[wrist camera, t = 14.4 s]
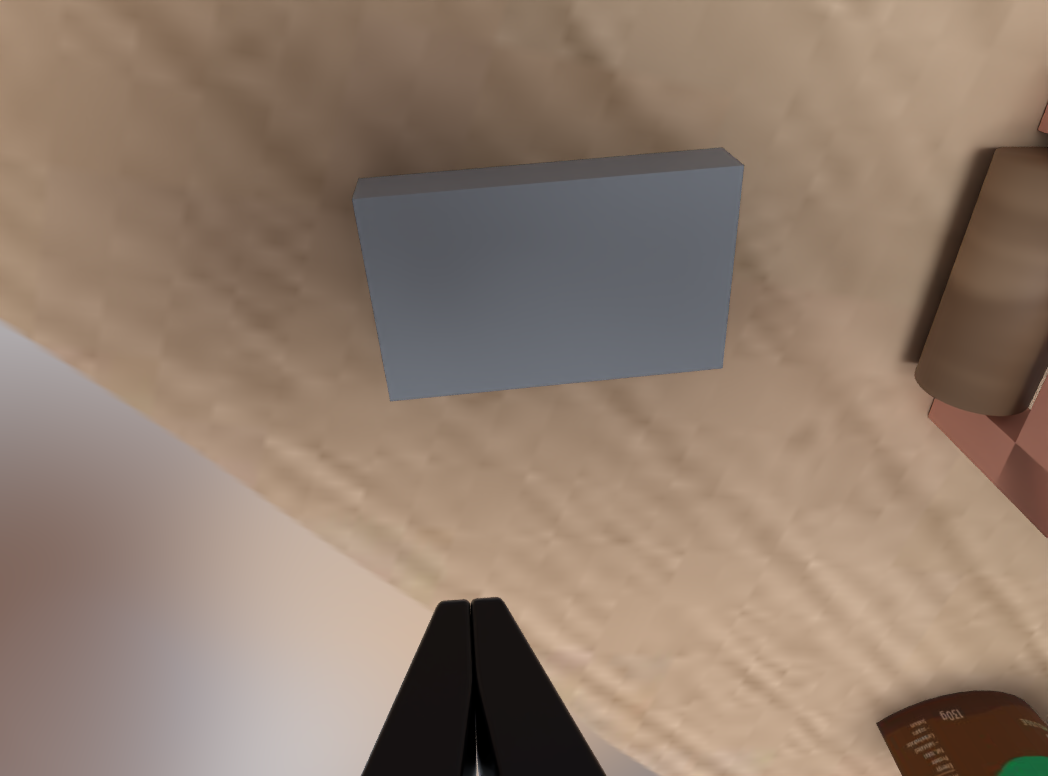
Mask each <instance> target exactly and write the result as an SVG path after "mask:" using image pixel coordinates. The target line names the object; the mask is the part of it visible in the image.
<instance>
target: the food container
mask: <svg viewBox="0 0 1048 776" xmlns="http://www.w3.org/2000/svg"><path fill="white" fill-rule="evenodd" d="M876 724H877V726H878V728H879V730H880V732H881V734H882V736H883V738H884V740H885V742H886V744H887V746H888V748H889V750H890V752H891V754H892V756H893V758H894V760H895V762H896V764H897V766H898V768H899V770H900V772H901V774H902V776H1048V727H1047V726H1046V724H1045V723H1044V722H1043V721H1042V720H1041V718H1040V717H1039V716H1038V715H1037V714H1036V713H1035V711H1034V710H1033V709H1032V708H1031V707H1030V706H1029V705H1028V704H1027V703H1026V702H1025V701H1024V700H1022V699H1020V698H1018V697H1016V696H1014V695H1011V694H1007V693H1004V692H996V691H969V692H959V693H954V694H949V695H944V696H940V697H936V698H933V699H929V700H926V701H923V702H920V703H918V704H915V705H912V706H909V707H907V708H905V709H903V710H901V711H898V712H896V713H894V714H892V715H890V716H888V717H887V718H885V719H883V720H881V721H880V722H878V723H876Z"/></svg>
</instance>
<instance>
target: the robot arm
mask: <svg viewBox="0 0 1048 776" xmlns="http://www.w3.org/2000/svg"><path fill="white" fill-rule="evenodd" d="M476 746H477V761H478V772H479V776H606V774H605V772H604V771H603V769H602V767H601V765H600V764H599V762H598V760H597V759H596V757H595V756H594V754H593V752H592V750H591V749H590V747H589V745H588V744H587V742H586V740H585V738H584V737H583V735H582V733H581V732H580V730H579V728H578V727H577V725H576V723H575V721H574V720H573V718H572V716H571V715H570V713H569V711H568V710H567V708H566V706H565V704H564V703H563V701H562V699H561V698H560V696H559V694H558V693H557V691H556V689H555V687H554V686H553V684H552V682H551V681H550V679H549V677H548V676H547V674H546V672H545V671H544V669H543V667H542V665H541V664H540V662H539V660H538V659H537V657H536V655H535V654H534V652H533V650H532V648H531V647H530V645H529V643H528V642H527V640H526V638H525V637H524V635H523V633H522V632H521V630H520V628H519V626H518V625H517V623H516V621H515V620H514V618H513V616H512V615H511V613H510V611H509V609H508V608H507V606H506V604H505V603H504V601H503V600H502V599H501V598H499V597H491V598H477V599H474V600H472V602H471V609H470V603H469V601H468V600H465V599H462V600H447V601H441V602H440V603H439V604H438V605H437V607H436V609H435V611H434V613H433V616H432V618H431V620H430V622H429V625H428V627H427V629H426V631H425V634H424V636H423V638H422V640H421V643H420V645H419V647H418V649H417V652H416V654H415V656H414V658H413V660H412V663H411V665H410V667H409V669H408V672H407V674H406V676H405V678H404V681H403V683H402V685H401V688H400V690H399V692H398V694H397V696H396V699H395V701H394V703H393V705H392V708H391V710H390V712H389V714H388V716H387V719H386V721H385V723H384V725H383V728H382V730H381V732H380V734H379V737H378V739H377V741H376V743H375V745H374V748H373V750H372V752H371V754H370V757H369V759H368V761H367V763H366V766H365V768H364V770H363V773H362V775H361V776H476V769H477V768H476V767H477V765H476Z"/></svg>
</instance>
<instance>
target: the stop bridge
mask: <svg viewBox="0 0 1048 776" xmlns="http://www.w3.org/2000/svg"><path fill="white" fill-rule="evenodd" d="M1038 130H1039V131H1042V132H1044V133H1047V134H1048V105H1047V107H1046V110H1045V113H1044V115H1043V118H1042V120H1041V123H1040V126H1039V128H1038ZM928 417H929V418H930V419H931V420H932V421H933V422H934V423H935V424H936V425H937V426H938V427H939V429H940V430H941V431H942V432H943V433H944V434H945V435H946V436H947V437H948V438H949V439H950V440H951V441H952V442H953V443H954V444H955V445H956V446H957V447H958V448H959V449H960V450H961V451H962V452H963V453H964V454H965V455H966V456H967V457H968V458H969V459H970V460H971V461H972V462H973V463H974V464H975V465H976V466H977V467H978V468H979V469H980V470H981V471H982V472H983V473H984V474H985V475H986V476H987V477H988V479H989V480H990V481H991V482H992V483H993V484H994V485H995V486H996V487H997V488H998V489H999V490H1000V491H1001V492H1002V493H1003V494H1004V495H1005V496H1006V497H1007V498H1008V499H1009V500H1010V501H1011V502H1012V503H1013V504H1014V505H1015V506H1016V507H1017V508H1018V509H1019V510H1020V511H1021V512H1022V513H1023V514H1024V515H1025V516H1026V517H1027V518H1028V519H1029V520H1030V521H1031V522H1032V523H1033V524H1034V525H1035V526H1036V527H1037V528H1038V530H1039V531H1040V532H1041V533H1042V534H1043V535H1044V536H1045V537H1046V538H1048V375H1047V377H1046V379H1045V381H1044V383H1043V385H1042V387H1041V390H1040V392H1039V394H1038V396H1037V398H1036V400H1035V402H1034V404H1033V407H1032V409H1031V410H1030V409H1029V408H1027V409H1026V410H1025V411H1023V412H1021V413H1019V414H1015V415H1009V416H991V415H983V414H977V413H973V412H968V411H965V410H962V409H959V408H956V407H953V406H951V405H948V404H946V403H944V402H942V401H940V400H938V399H936V398H935V399H934V402H933V404H932V407H931V410H930V412H929V415H928Z"/></svg>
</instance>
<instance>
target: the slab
mask: <svg viewBox="0 0 1048 776" xmlns="http://www.w3.org/2000/svg"><path fill="white" fill-rule="evenodd" d="M743 171H744V165H743V164H742V163H741V162H739V161H738V160H737V159H736V158H735V157H733V156H732V155H731V154H730V153H728V152H727V151H726V150H725V149H724V148H710V149H699V150H687V151H675V152H664V153H652V154H640V155H628V156H617V157H605V158H593V159H582V160H570V161H558V162H546V163H535V164H523V165H511V166H500V167H488V168H476V169H465V170H453V171H441V172H429V173H418V174H406V175H394V176H383V177H371V178H359V179H358V182H357V185H356V188H355V191H354V195H353V198H352V202H353V207H354V212H355V217H356V223H357V228H358V233H359V239H360V244H361V249H362V254H363V260H364V265H365V270H366V275H367V281H368V286H369V291H370V297H371V302H372V307H373V312H374V318H375V323H376V328H377V334H378V339H379V344H380V349H381V355H382V360H383V365H384V370H385V376H386V381H387V386H388V392H389V397H390V401H398V400H408V399H418V398H428V397H438V396H448V395H459V394H469V393H479V392H489V391H499V390H509V389H519V388H529V387H539V386H549V385H559V384H569V383H579V382H589V381H599V380H609V379H619V378H629V377H639V376H649V375H660V374H670V373H680V372H690V371H700V370H710V369H720V368H723V358H724V349H725V340H726V330H727V321H728V311H729V302H730V293H731V283H732V274H733V265H734V255H735V246H736V236H737V227H738V218H739V208H740V199H741V190H742V180H743Z"/></svg>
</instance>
